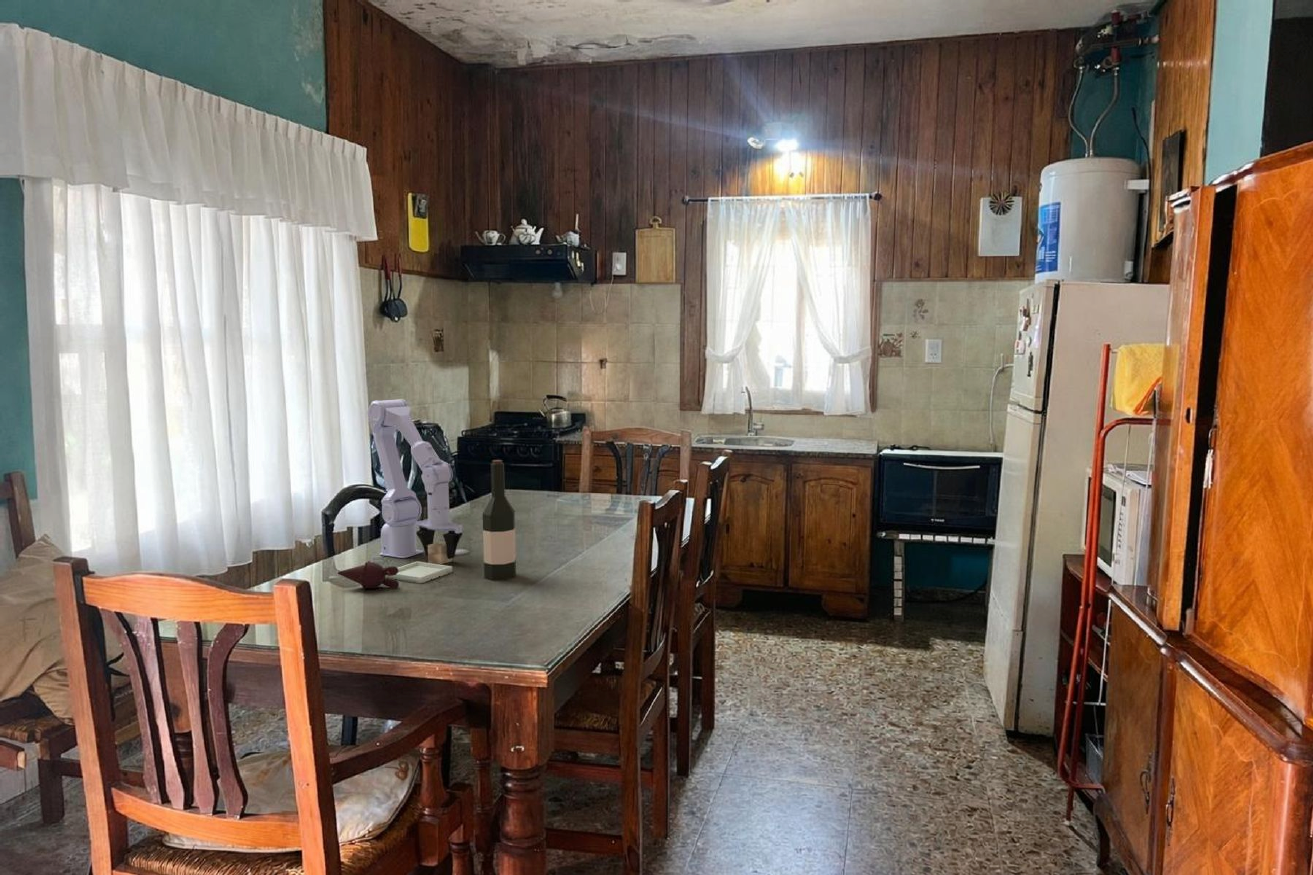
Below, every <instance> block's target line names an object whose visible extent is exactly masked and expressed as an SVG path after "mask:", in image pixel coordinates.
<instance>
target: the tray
mask: <svg viewBox="0 0 1313 875" xmlns="http://www.w3.org/2000/svg"><path fill="white" fill-rule="evenodd" d="M397 568H398V573H397V574H396V575H393V576H388V575H386V576H385V579H386V578H388V579H394V580H395V579H397V580H396V581H401V580H402V581H404V582H408V583H409V582H410V583H414V582H415V584H423V583H425V582H428V581H431V579H432V580H433V579H436V578H439V576H440V577H442V576H445V575H448V574H450V573H453V566H452V565H445V564H442V565H440V564H433V563H428V562H424V561H418V560H417V561H414V562H410V563H408V564H405V565H402V566H398V567H397Z"/></svg>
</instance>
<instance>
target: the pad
mask: <svg viewBox="0 0 1313 875" xmlns="http://www.w3.org/2000/svg"><path fill="white" fill-rule="evenodd" d="M469 553H470V550H468V549H465V548H464V549H462V548H461V549H459V548H458V549H456V552H455V555H456V556H465V555H467V554H469Z"/></svg>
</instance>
